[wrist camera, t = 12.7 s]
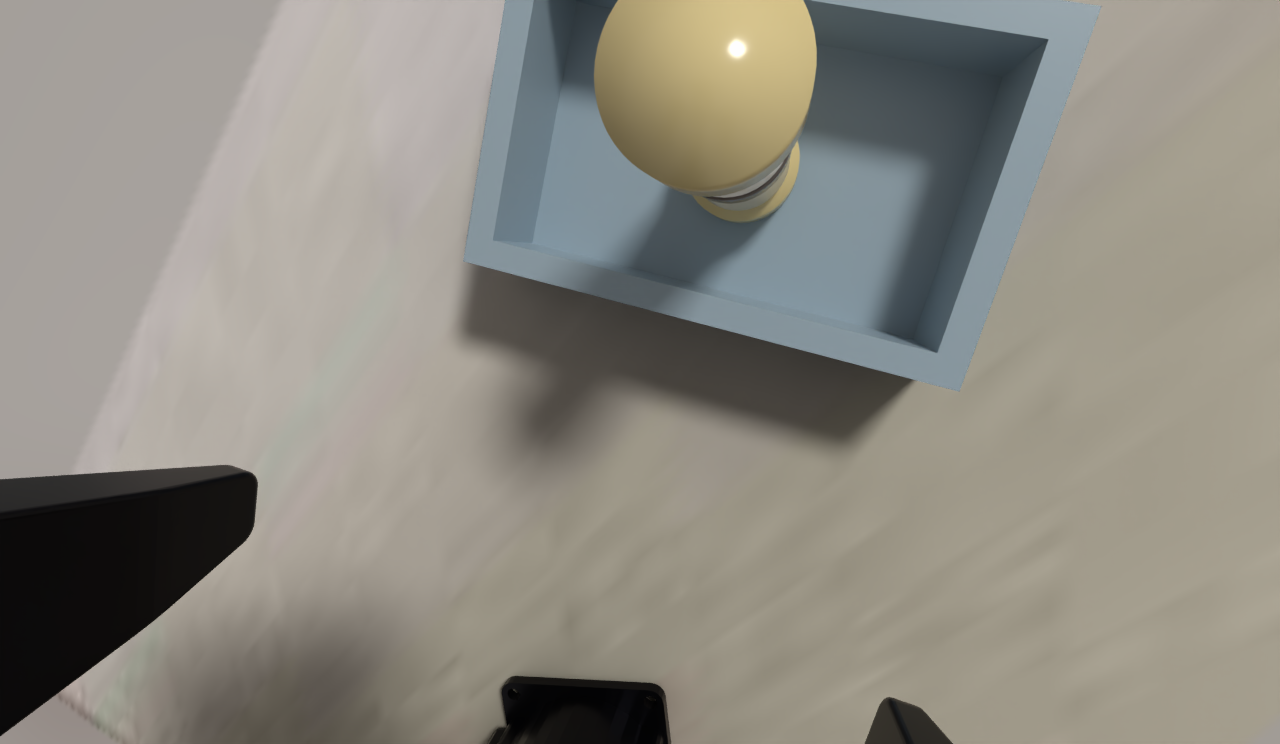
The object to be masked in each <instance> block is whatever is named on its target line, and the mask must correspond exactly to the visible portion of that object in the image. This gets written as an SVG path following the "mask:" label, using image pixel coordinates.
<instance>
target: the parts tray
mask: <svg viewBox="0 0 1280 744" xmlns="http://www.w3.org/2000/svg"><path fill="white" fill-rule="evenodd" d="M617 1H618V0H505V5H504V11H503V17H502V24H501V30H500V36H499V42H498V48H497V55H496V61H495V67H494V73H493V80H492V86H491V92H490V98H489V104H488V111H487V117H486V123H485V129H484V136H483V142H482V148H481V154H480V160H479V167H478V173H477V179H476V185H475V192H474V198H473V204H472V210H471V216H470V223H469V229H468V235H467V241H466V247H465V254H464V260H463V261H464V262H468V263H472V264H475V265H479V266H483V267H487V268H491V269H494V270H498V271H502V272H506V273H510V274H513V275H517V276H521V277H525V278H529V279H533V280H536V281H540V282H544V283H548V284H552V285H555V286H559V287H563V288H567V289H571V290H574V291H578V292H582V293H586V294H590V295H593V296H597V297H601V298H605V299H609V300H612V301H616V302H620V303H624V304H628V305H632V306H635V307H639V308H643V309H647V310H651V311H654V312H658V313H662V314H666V315H670V316H673V317H677V318H681V319H685V320H689V321H692V322H696V323H700V324H704V325H708V326H711V327H715V328H719V329H723V330H727V331H731V332H734V333H738V334H742V335H746V336H750V337H753V338H757V339H761V340H765V341H769V342H772V343H776V344H780V345H784V346H788V347H791V348H795V349H799V350H803V351H807V352H810V353H814V354H818V355H822V356H826V357H830V358H833V359H837V360H841V361H845V362H849V363H852V364H856V365H860V366H864V367H868V368H871V369H875V370H879V371H883V372H887V373H890V374H894V375H898V376H902V377H906V378H909V379H913V380H917V381H921V382H925V383H929V384H932V385H936V386H940V387H944V388H948V389H951V390H955V391H960V388H961V386H962V383H963V380H964V378H965V375H966V372H967V369H968V367H969V364H970V361H971V359H972V356H973V353H974V350H975V348H976V345H977V342H978V340H979V337H980V334H981V332H982V329H983V326H984V323H985V321H986V318H987V315H988V313H989V310H990V307H991V304H992V302H993V299H994V296H995V294H996V291H997V288H998V285H999V283H1000V280H1001V277H1002V275H1003V272H1004V269H1005V266H1006V264H1007V261H1008V258H1009V256H1010V253H1011V250H1012V248H1013V245H1014V242H1015V239H1016V237H1017V234H1018V231H1019V229H1020V226H1021V223H1022V220H1023V218H1024V215H1025V212H1026V210H1027V207H1028V204H1029V201H1030V199H1031V196H1032V193H1033V191H1034V188H1035V185H1036V182H1037V180H1038V177H1039V174H1040V172H1041V169H1042V166H1043V164H1044V161H1045V158H1046V155H1047V153H1048V150H1049V147H1050V145H1051V142H1052V139H1053V136H1054V134H1055V131H1056V128H1057V126H1058V123H1059V120H1060V117H1061V115H1062V112H1063V109H1064V107H1065V104H1066V101H1067V98H1068V96H1069V93H1070V90H1071V88H1072V85H1073V82H1074V80H1075V77H1076V74H1077V71H1078V69H1079V66H1080V63H1081V61H1082V58H1083V55H1084V52H1085V50H1086V47H1087V44H1088V42H1089V39H1090V36H1091V33H1092V31H1093V28H1094V25H1095V23H1096V20H1097V17H1098V14H1099V12H1100V9H1101V6H1096V5H1090V4H1083V3H1077V2H1070V1H1063V0H803V1H804V3H805V5H806V7H807V10H808V12H809V15H810V17H811V21H812V25H813V28H814V32H815V40H816V48H817V66H816V73H815V81H814V86H813V92H812V97H811V103H810V108H809V112H808V116H807V120H806V123H805V125H804V128H803V130H802V133H801V135H800V137H799V139H798V144H799V151H800V161H799V169H798V174H797V179H796V182H795V185H794V188H793V190H792V192H791V194H790V195H789V197H788V198H787V200H786V201H785V202H784V204H783V205H782V206H781V207H780V208H779V209H777V210H776V211H775V212H774V213H772V214H771V215H769V216H767V217H765V218H763V219H761V220H758V221H755V222H750V223H733V222H728V221H725V220H722V219H720V218H718V217H716V216H714V215H713V214H711V213H709V212H708V211H707V210H705V209H704V208H703V207H702V206H701V205H700V204H699V203H698V202H697V201H696V200H695V199H694V197H693V196H692V195H690V194H685V193H682V192H679V191H676V190H674V189H672V188H670V187H668V186H666V185H664V184H662V183H661V182H659V181H657V180H656V179H654V178H652V177H651V176H649V175H648V174H646V173H644V172H643V171H642V170H640V169H639V168H637V167H636V166H635V165H633V164H632V163H631V162H630V161H629V160H628V159H627V158H626V157H625V156H624V155H623V154H622V153H621V152H620V150H619V149H618V148H617V147H616V145H615V144H614V143H613V141H612V139H611V138H610V136H609V134H608V133H607V131H606V128H605V126H604V124H603V122H602V119H601V116H600V113H599V109H598V106H597V101H596V95H595V86H594V67H595V58H596V52H597V46H598V43H599V39H600V36H601V33H602V30H603V28H604V25H605V23H606V21H607V18H608V16H609V14H610V13H611V11H612V9H613V7H614V6H615V4H616V2H617Z"/></svg>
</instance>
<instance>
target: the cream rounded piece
mask: <svg viewBox="0 0 1280 744" xmlns="http://www.w3.org/2000/svg"><path fill="white" fill-rule="evenodd" d="M816 66H817V48H816V40H815V32H814V28H813V25H812V21H811V17H810V15H809V12H808V10H807V7H806V5H805V3H804V1H803V0H618V1H617V2H616V4H615V6H614V7H613V9H612V11H611V13H610V14H609V16H608V18H607V21H606V23H605V25H604V28H603V30H602V33H601V36H600V39H599V43H598V46H597V52H596V58H595V67H594V86H595V95H596V101H597V106H598V109H599V113H600V116H601V119H602V122H603V124H604V126H605V128H606V131H607V133H608V134H609V136H610V138H611V139H612V141H613V143H614V144H615V145H616V147H617V148H618V149H619V150H620V152H621V153H622V154H623V155H624V156H625V157H626V158H627V159H628V160H629V161H630V162H631V163H632V164H633V165H635V166H636V167H637V168H639V169H640V170H642V171H643V172H644V173H646V174H648V175H649V176H651V177H652V178H654V179H656V180H657V181H659V182H661V183H662V184H664V185H666V186H668V187H670V188H672V189H674V190H676V191H679V192H682V193H685V194H690V195H692V196H693V197H694V199H695V200H696V201H697V202H698V203H699V204H700V205H701V206H702V207H703V208H704V209H705V210H707V211H708V212H709V213H711V214H713V215H714V216H716V217H718V218H720V219H722V220H725V221H728V222H733V223H750V222H755V221H758V220H761V219H763V218H765V217H767V216H769V215H771V214H772V213H774V212H775V211H776V210H777V209H779V208H780V207H781V206H782V205H783V204H784V202H785V201H786V200H787V198H788V197H789V195H790V194H791V192H792V190H793V188H794V185H795V182H796V179H797V174H798V169H799V161H800V151H799V144H798V139H799V137H800V135H801V133H802V130H803V128H804V125H805V123H806V120H807V116H808V112H809V108H810V103H811V97H812V92H813V86H814V81H815V73H816Z"/></svg>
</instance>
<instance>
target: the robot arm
mask: <svg viewBox="0 0 1280 744" xmlns="http://www.w3.org/2000/svg"><path fill="white" fill-rule="evenodd" d="M257 488H258V482H257V479H256V476H255V475H254V474H253V473H251V472H248V471H245V470H243V469H240V468H237V467H234V466H231V465H217V466H201V467H185V468H170V469H154V470H139V471H123V472H108V473H92V474H77V475H61V476H45V477H30V478H14V479H0V736H1V735H2V734H4V733H5V732H7V731H8V730H9V729H11V728H12V727H13V726H15V725H16V724H17V723H19V722H20V721H21V720H23V719H24V718H25V717H27V716H28V715H29V714H31V713H32V712H33V711H35V710H36V709H37V708H39V707H40V706H41V705H43V704H44V703H45V702H47V701H48V700H49V699H51V698H52V697H53V696H55V695H56V694H57V693H59V692H60V691H61V690H63V689H64V688H65V687H67V686H68V685H69V684H71V683H72V682H73V681H75V680H76V679H78V678H79V677H80V676H82V675H83V674H84V673H86V672H87V671H88V670H90V669H91V668H92V667H94V666H95V665H96V664H98V663H99V662H100V661H102V660H103V659H104V658H106V657H107V656H108V655H110V654H111V653H112V652H114V651H115V650H116V649H118V648H119V647H120V646H122V645H123V644H124V643H126V642H127V641H128V640H130V639H131V638H132V637H134V636H135V635H136V634H138V633H139V632H140V631H141V630H143V629H144V628H145V627H147V626H148V625H149V624H150V623H152V622H153V621H154V620H155V619H157V618H158V617H159V616H160V615H161V614H163V613H164V612H165V611H166V610H167V609H168V608H170V607H171V606H172V605H173V604H174V603H175V602H176V601H178V600H179V599H180V598H181V597H182V596H183V595H184V594H186V593H187V592H188V591H189V590H190V589H191V588H192V587H194V586H195V585H196V584H197V583H198V582H199V581H200V580H202V579H203V578H204V577H205V576H206V575H207V574H208V573H210V572H211V571H212V570H213V569H214V568H215V567H216V566H218V565H219V564H220V563H221V562H222V561H223V560H224V559H226V558H227V557H228V556H229V555H230V554H231V553H232V552H234V551H235V550H236V549H237V548H238V547H239V546H240V545H242V544H243V543H244V542H245V541H246V539H247V538H248V537H249V535H250V534H251V532H252V530H253V527H254V522H255V511H256V500H257ZM512 688H513V689H516V690H517V691H518V692H519V693H516V692H515V691H514V690H513V689H512ZM648 696H650V697H653V698H654V699H656V701H651V700H649V699H648V698H647V697H648ZM502 697H503V703H504V709H505V715H506V721H507V728H498V729H497V730H496V731H495V733H494V734H493V735H492V737H491V739H490V740H489V742H488V743H487V744H671V738H670V730H669V721H668V713H667V704H666V696H665V693H664V691H663V689H662V688H661V687H660V686H658V685H657V684H653V683H640V682H620V681H601V680H581V679H562V678H543V677H523V676H514V677H511V678H509V679H508V680H507V682H506V684H505V685H504V687H503V689H502ZM865 744H953V743H952V742H951V741H950V740H949V739H948V738H947V736H946V735H945V734H944V733H943V732H942V731H941V730H940V729H939V727H938V726H937V725H936V724H935V723H934V722H933V721H932V720H931V718H930V717H929V716H928V715H927V714H926V713H925V712H924V711H923V710H922V709H921V708H919V707H917V706H915V705H912V704H909V703H906V702H903V701H900V700H897V699H895V698H891V697H888V698H885V699H884V700H883V701H882V702H881V704H880V706H879V708H878V710H877V713H876V716H875V718H874V721H873V723H872V726H871V729H870V731H869V734H868V736H867V739H866V741H865Z"/></svg>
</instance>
